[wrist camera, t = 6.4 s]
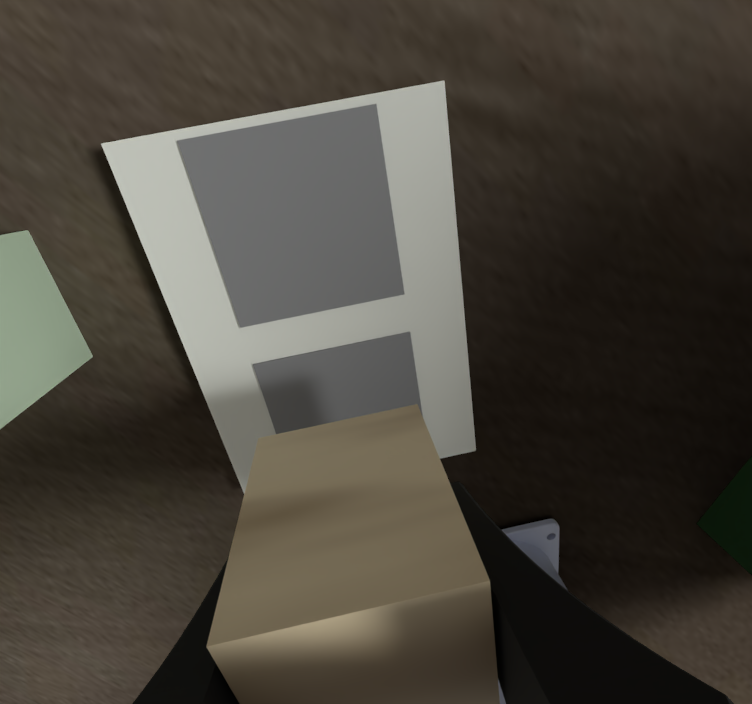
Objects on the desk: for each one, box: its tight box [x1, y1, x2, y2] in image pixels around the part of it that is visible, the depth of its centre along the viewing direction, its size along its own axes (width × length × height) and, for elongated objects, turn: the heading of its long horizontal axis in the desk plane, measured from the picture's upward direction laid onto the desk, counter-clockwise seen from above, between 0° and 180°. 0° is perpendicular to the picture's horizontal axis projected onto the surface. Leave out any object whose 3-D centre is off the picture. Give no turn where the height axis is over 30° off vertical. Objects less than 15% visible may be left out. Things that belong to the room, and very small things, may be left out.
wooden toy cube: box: [206, 404, 500, 704], centre depth 11 cm, size 5×5×6 cm
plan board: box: [101, 81, 476, 494], centre depth 16 cm, size 15×11×1 cm
